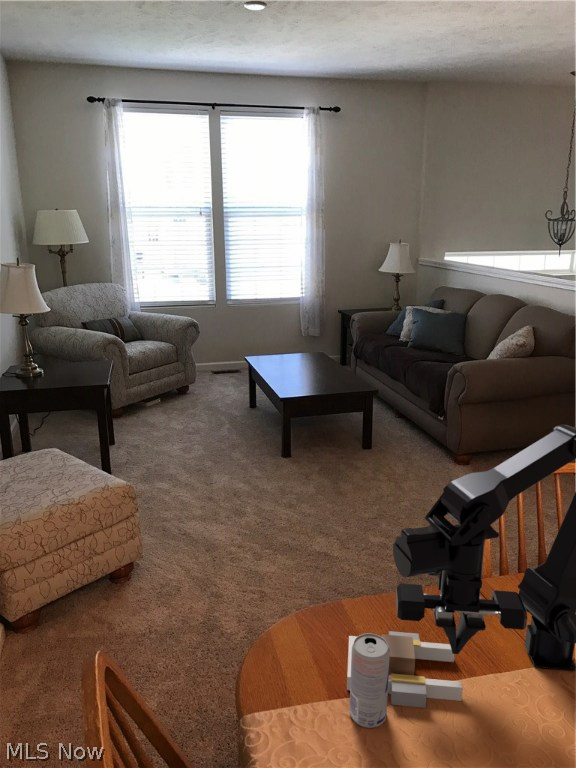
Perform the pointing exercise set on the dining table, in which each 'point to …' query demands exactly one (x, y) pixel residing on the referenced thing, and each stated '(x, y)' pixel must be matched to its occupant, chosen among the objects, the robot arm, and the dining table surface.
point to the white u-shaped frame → (418, 687)
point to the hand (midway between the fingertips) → (454, 652)
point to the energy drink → (369, 680)
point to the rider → (400, 654)
